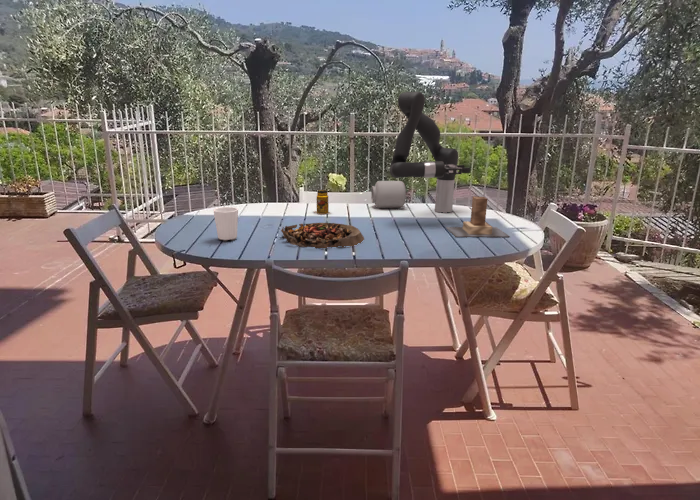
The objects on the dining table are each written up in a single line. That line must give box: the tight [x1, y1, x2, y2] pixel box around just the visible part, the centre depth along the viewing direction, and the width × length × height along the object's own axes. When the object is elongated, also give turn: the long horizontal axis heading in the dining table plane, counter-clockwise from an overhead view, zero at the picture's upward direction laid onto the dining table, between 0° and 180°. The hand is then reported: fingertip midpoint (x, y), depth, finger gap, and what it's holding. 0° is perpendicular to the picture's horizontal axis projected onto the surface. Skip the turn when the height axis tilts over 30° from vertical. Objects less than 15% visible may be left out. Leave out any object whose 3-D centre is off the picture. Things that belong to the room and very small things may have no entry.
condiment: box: [313, 189, 332, 216], centre depth 253 cm, size 7×8×12 cm
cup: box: [213, 206, 239, 242], centre depth 201 cm, size 10×10×13 cm
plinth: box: [445, 220, 511, 239], centre depth 220 cm, size 24×16×4 cm, turn 94°
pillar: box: [470, 196, 488, 226], centre depth 217 cm, size 5×5×12 cm
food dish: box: [280, 222, 365, 249], centre depth 206 cm, size 35×33×8 cm
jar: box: [360, 180, 407, 211], centre depth 267 cm, size 19×15×25 cm
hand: (466, 168), depth 229 cm, fingers open, 8 cm apart
